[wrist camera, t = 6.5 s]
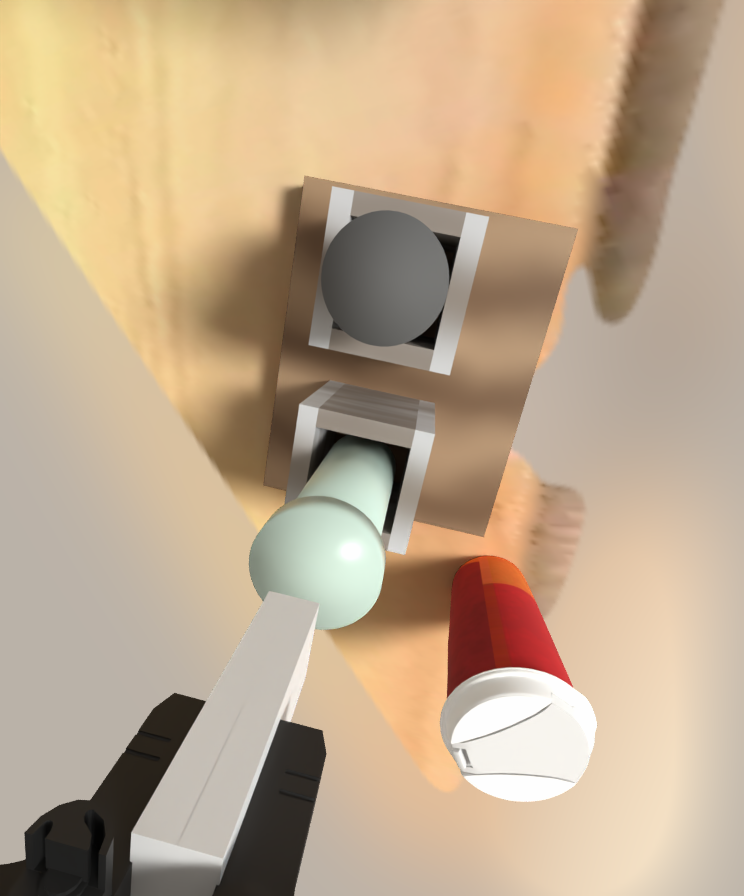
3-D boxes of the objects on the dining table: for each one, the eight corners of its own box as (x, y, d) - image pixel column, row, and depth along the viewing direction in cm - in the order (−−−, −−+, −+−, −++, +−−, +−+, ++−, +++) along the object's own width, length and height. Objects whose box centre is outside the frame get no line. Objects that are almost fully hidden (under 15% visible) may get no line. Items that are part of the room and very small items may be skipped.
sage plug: (327, 417, 27) (256, 495, 16) (410, 436, 26) (395, 528, 16) (314, 494, 28) (242, 611, 18) (393, 512, 28) (368, 643, 17)
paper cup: (454, 638, 38) (465, 818, 25) (425, 556, 36) (420, 703, 23) (553, 617, 37) (621, 798, 23) (527, 531, 35) (585, 674, 21)
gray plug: (371, 237, 28) (332, 198, 17) (452, 253, 27) (463, 224, 17) (356, 320, 29) (312, 332, 19) (432, 336, 29) (432, 358, 18)
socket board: (312, 183, 30) (259, 133, 21) (568, 233, 29) (630, 203, 20) (272, 475, 36) (218, 534, 27) (480, 524, 35) (497, 602, 26)
